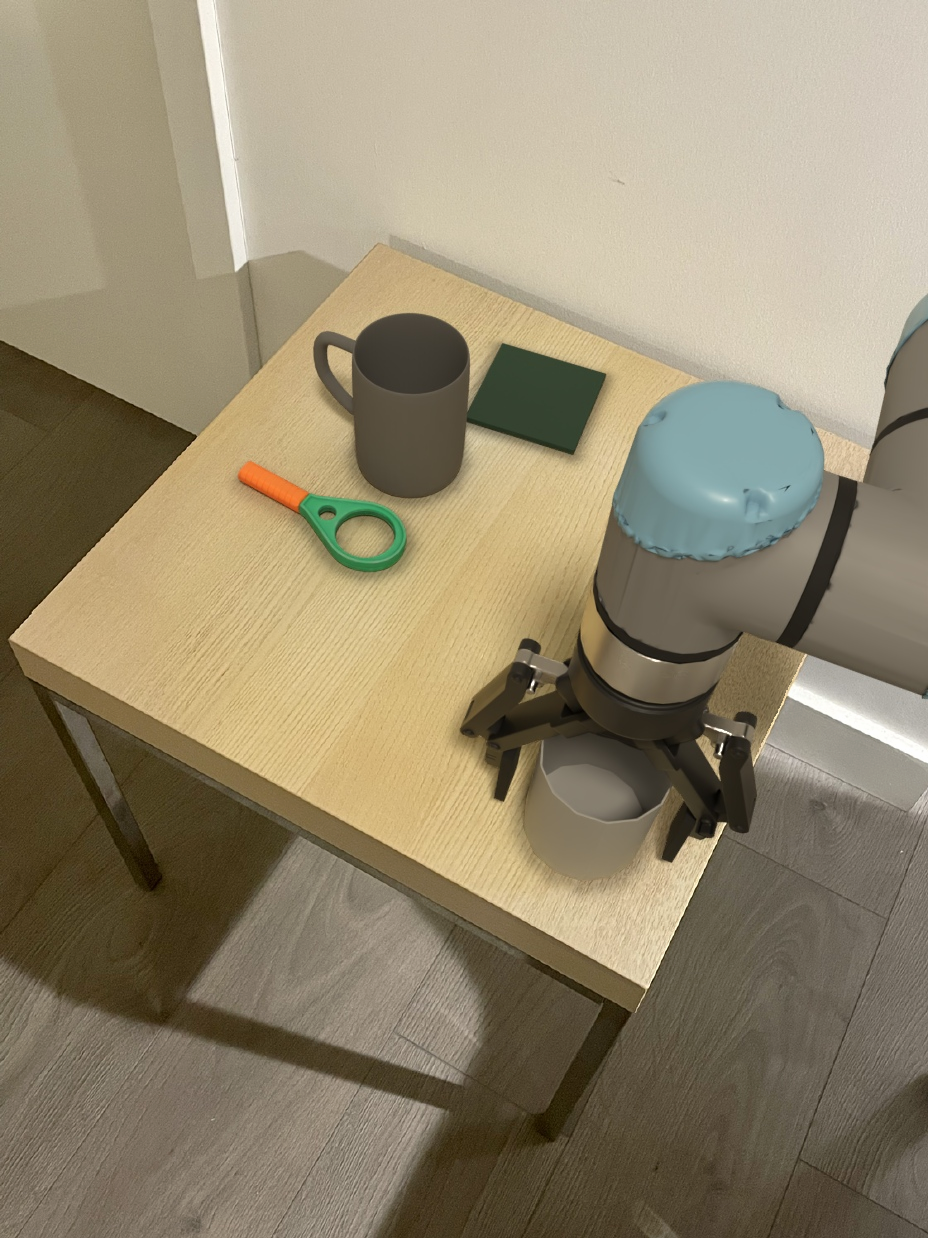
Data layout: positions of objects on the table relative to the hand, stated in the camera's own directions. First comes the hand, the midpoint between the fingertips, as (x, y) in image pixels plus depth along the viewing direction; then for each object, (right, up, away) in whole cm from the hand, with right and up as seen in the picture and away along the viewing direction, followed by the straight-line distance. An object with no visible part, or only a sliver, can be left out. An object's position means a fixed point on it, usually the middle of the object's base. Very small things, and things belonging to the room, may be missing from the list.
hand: (587, 812), depth 73 cm
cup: (0, -1, +1) cm, 2 cm away
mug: (-15, +28, +19) cm, 37 cm away
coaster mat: (-2, +33, +23) cm, 40 cm away
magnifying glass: (-20, +21, +15) cm, 33 cm away
